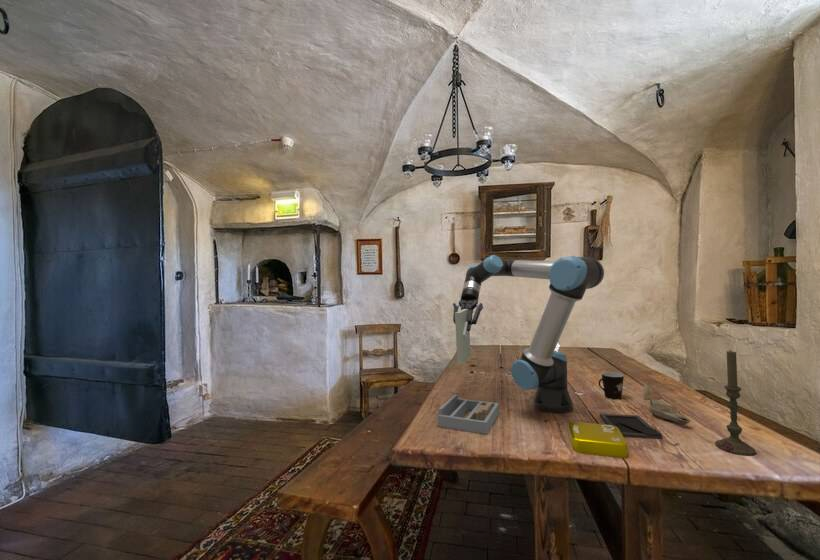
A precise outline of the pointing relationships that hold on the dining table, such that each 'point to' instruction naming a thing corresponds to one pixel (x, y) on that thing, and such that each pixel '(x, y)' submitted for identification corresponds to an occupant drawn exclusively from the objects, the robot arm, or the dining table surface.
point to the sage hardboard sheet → (462, 343)
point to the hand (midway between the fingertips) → (461, 336)
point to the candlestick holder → (733, 413)
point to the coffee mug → (612, 384)
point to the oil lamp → (662, 407)
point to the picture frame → (631, 426)
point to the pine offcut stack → (482, 412)
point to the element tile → (597, 439)
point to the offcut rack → (458, 407)
